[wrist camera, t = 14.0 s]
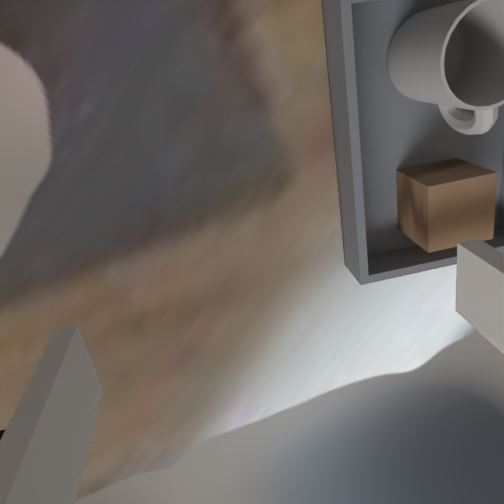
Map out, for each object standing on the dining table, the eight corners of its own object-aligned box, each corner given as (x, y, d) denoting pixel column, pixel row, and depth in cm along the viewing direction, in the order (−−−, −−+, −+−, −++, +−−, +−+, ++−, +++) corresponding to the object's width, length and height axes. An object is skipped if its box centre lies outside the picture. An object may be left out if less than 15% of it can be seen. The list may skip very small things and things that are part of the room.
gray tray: (321, 0, 36) (339, -8, 32) (520, -35, 37) (562, -47, 33) (345, 264, 45) (360, 284, 41) (500, 231, 47) (531, 247, 42)
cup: (455, -8, 36) (533, -28, 28) (478, 109, 40) (552, 120, 32) (374, 31, 37) (428, 22, 28) (405, 143, 41) (460, 163, 33)
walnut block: (396, 170, 42) (428, 186, 36) (456, 158, 42) (497, 172, 36) (397, 229, 44) (428, 252, 39) (455, 217, 44) (493, 238, 39)
